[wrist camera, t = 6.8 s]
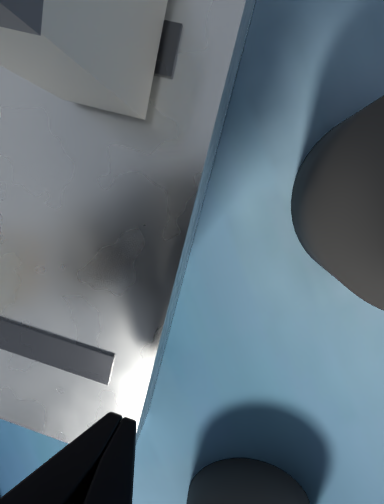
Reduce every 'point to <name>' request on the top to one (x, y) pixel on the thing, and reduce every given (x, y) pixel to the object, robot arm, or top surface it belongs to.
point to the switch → (85, 49)
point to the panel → (106, 226)
